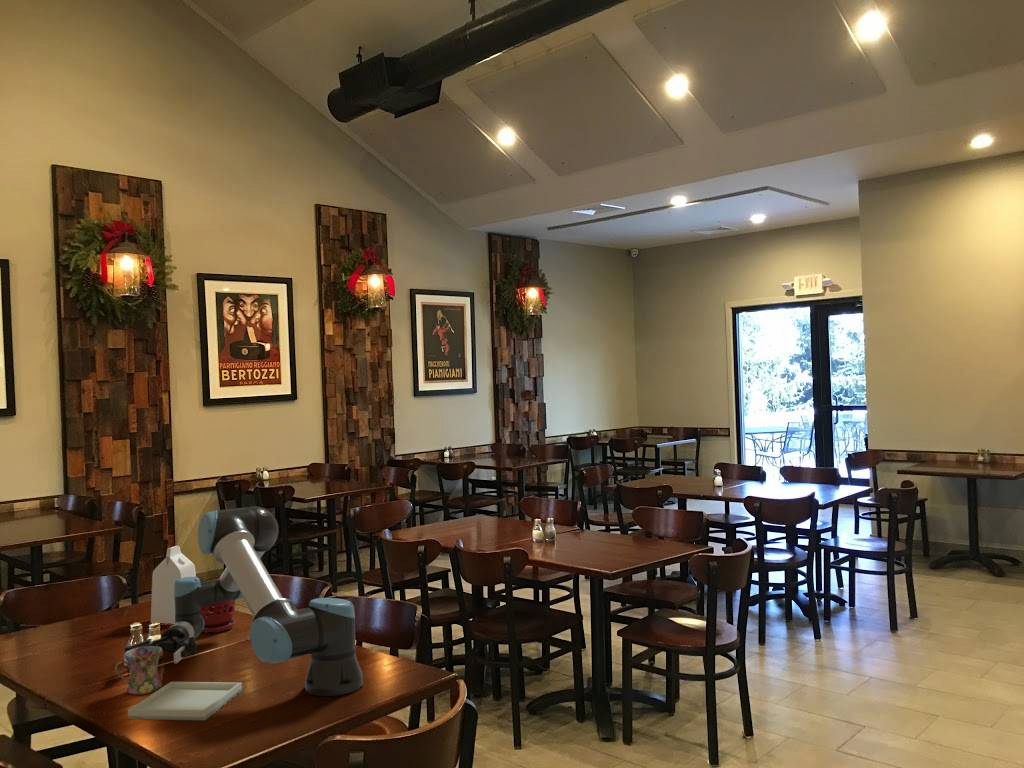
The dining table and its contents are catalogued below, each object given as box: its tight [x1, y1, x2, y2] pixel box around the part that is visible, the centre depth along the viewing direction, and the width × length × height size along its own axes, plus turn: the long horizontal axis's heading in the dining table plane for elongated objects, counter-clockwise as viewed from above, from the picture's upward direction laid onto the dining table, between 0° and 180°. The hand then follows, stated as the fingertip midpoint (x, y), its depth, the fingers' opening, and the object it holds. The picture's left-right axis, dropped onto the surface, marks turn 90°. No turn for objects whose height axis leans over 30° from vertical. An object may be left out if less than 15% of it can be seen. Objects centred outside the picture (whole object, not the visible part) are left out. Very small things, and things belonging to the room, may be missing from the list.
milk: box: [150, 545, 197, 624], centre depth 296 cm, size 12×12×26 cm
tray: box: [127, 681, 243, 721], centre depth 214 cm, size 20×20×2 cm
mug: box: [114, 646, 163, 695], centre depth 224 cm, size 12×9×11 cm
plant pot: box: [200, 600, 236, 633], centre depth 284 cm, size 13×13×12 cm
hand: (150, 659), depth 233 cm, fingers open, 13 cm apart
